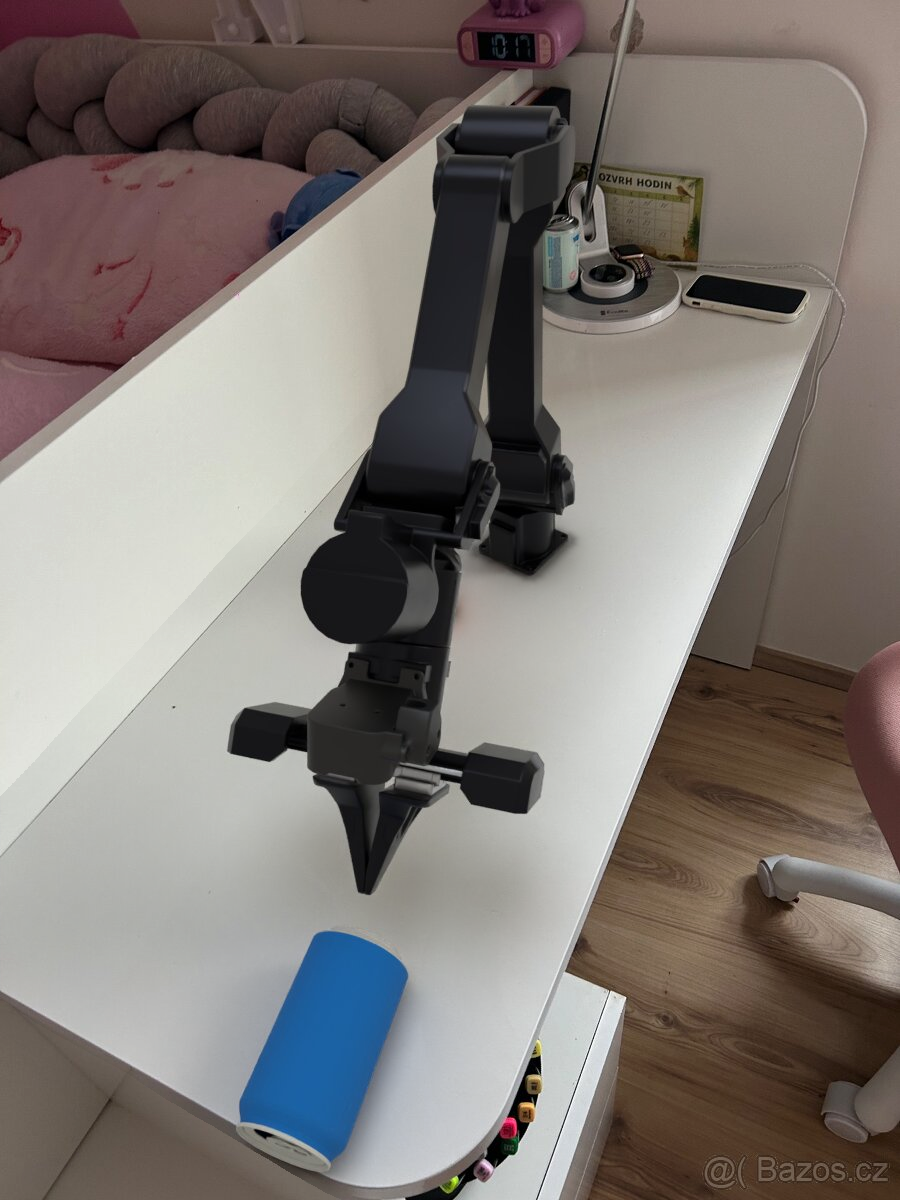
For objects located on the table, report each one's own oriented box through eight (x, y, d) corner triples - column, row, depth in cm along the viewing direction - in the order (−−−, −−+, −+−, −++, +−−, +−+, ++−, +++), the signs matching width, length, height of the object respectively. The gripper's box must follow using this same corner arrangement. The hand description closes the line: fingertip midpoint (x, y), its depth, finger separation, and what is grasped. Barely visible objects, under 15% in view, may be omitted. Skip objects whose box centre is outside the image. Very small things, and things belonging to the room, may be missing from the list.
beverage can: (318, 907, 57) (224, 1111, 49) (416, 944, 56) (338, 1159, 48) (317, 948, 61) (232, 1141, 53) (408, 983, 61) (335, 1184, 53)
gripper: (200, 616, 51) (159, 896, 51) (533, 673, 46) (486, 980, 46) (285, 617, 62) (251, 848, 62) (562, 663, 57) (523, 912, 57)
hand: (366, 892), depth 56 cm, fingers closed
